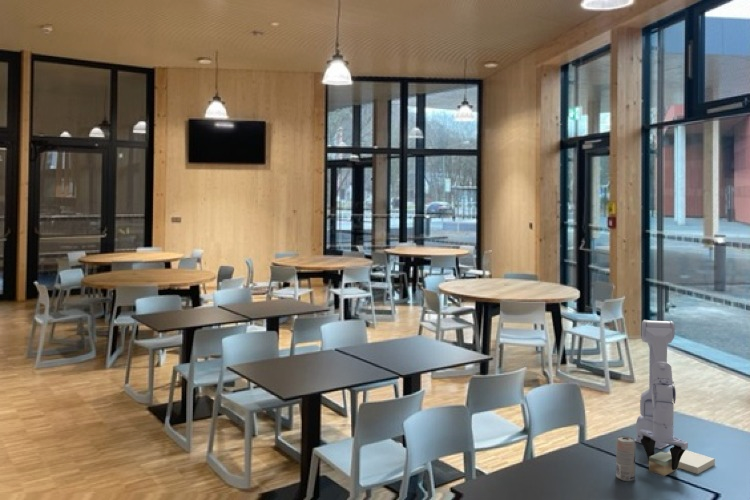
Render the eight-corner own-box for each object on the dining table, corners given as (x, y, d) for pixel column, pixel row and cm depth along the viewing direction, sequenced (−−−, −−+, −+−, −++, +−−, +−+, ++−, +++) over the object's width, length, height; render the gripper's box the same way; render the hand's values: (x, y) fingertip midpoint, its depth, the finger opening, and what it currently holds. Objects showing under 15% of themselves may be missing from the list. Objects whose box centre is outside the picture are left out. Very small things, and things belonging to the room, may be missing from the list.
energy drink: (634, 475, 187) (634, 436, 186) (635, 482, 182) (636, 443, 181) (615, 473, 189) (615, 435, 188) (616, 480, 184) (616, 441, 183)
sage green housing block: (648, 470, 190) (649, 456, 190) (660, 465, 195) (661, 451, 194) (664, 476, 186) (664, 461, 186) (676, 470, 190) (676, 456, 190)
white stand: (659, 461, 197) (659, 455, 197) (677, 453, 203) (677, 447, 203) (697, 474, 187) (697, 467, 187) (714, 464, 194) (714, 458, 194)
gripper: (634, 418, 193) (633, 460, 194) (679, 431, 181) (679, 476, 182) (646, 414, 197) (646, 455, 198) (691, 426, 185) (691, 470, 186)
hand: (662, 465), depth 190 cm, fingers open, 7 cm apart
